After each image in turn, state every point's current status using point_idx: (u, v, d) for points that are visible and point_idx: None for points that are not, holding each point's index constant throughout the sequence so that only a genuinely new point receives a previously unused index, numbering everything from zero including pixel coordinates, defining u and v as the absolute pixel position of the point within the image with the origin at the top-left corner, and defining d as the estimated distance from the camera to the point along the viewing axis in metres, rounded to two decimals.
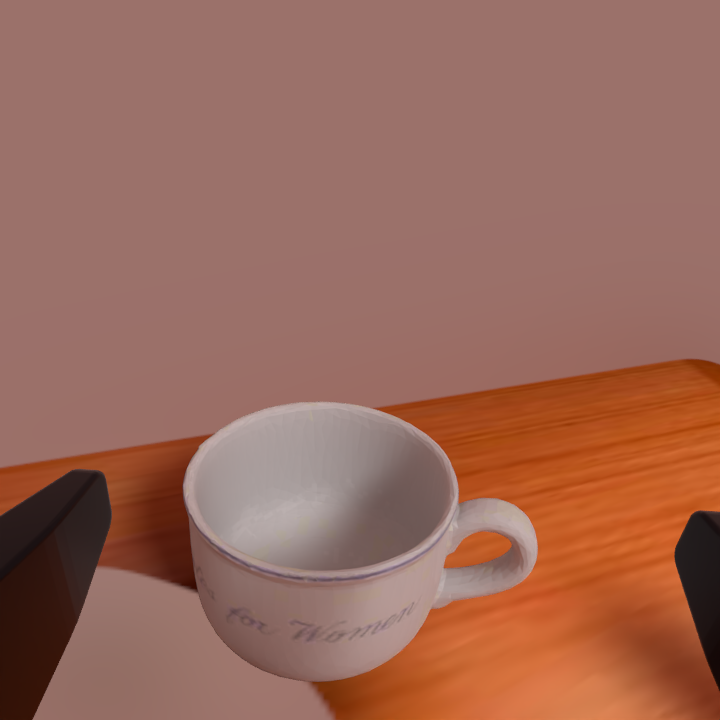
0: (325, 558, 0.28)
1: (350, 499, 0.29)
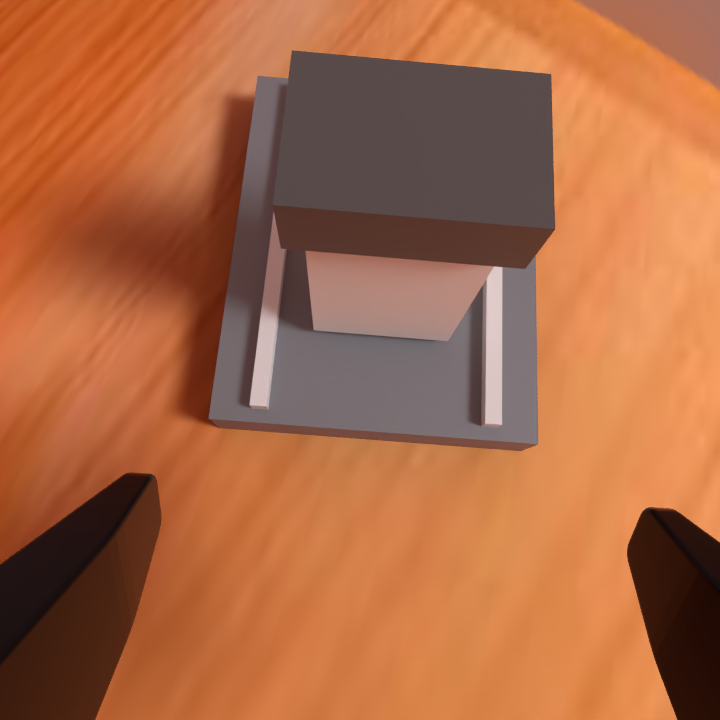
0: None
1: None
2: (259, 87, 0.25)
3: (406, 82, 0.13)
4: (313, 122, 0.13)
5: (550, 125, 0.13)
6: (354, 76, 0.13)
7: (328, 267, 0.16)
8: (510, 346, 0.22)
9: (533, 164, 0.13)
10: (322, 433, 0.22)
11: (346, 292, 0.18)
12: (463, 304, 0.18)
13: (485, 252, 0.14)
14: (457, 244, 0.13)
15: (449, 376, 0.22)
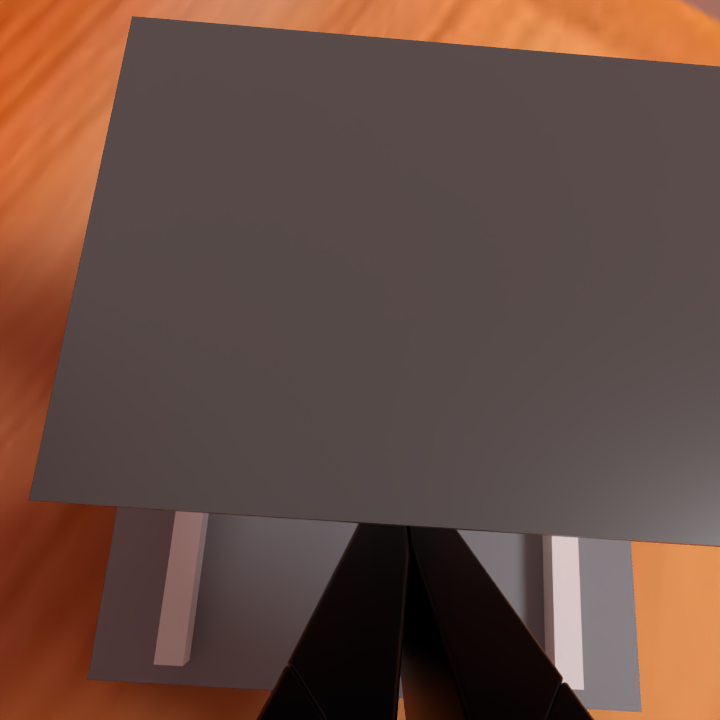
0: None
1: None
2: None
3: (441, 102, 0.05)
4: (177, 220, 0.04)
5: None
6: (300, 85, 0.05)
7: None
8: None
9: None
10: None
11: None
12: None
13: None
14: (582, 536, 0.05)
15: None
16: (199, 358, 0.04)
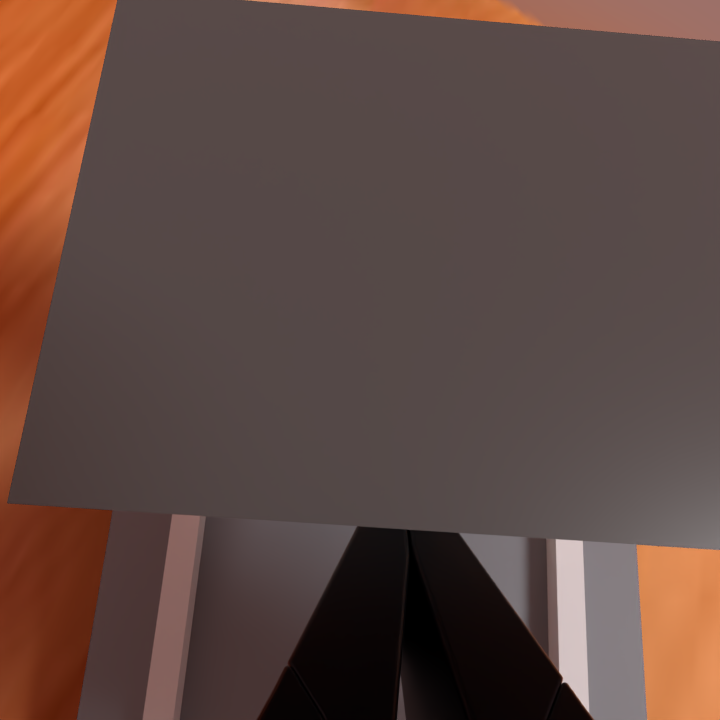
0: None
1: None
2: None
3: (449, 79, 0.05)
4: (167, 205, 0.04)
5: None
6: (297, 62, 0.05)
7: None
8: None
9: None
10: None
11: None
12: None
13: None
14: None
15: None
16: (190, 351, 0.04)
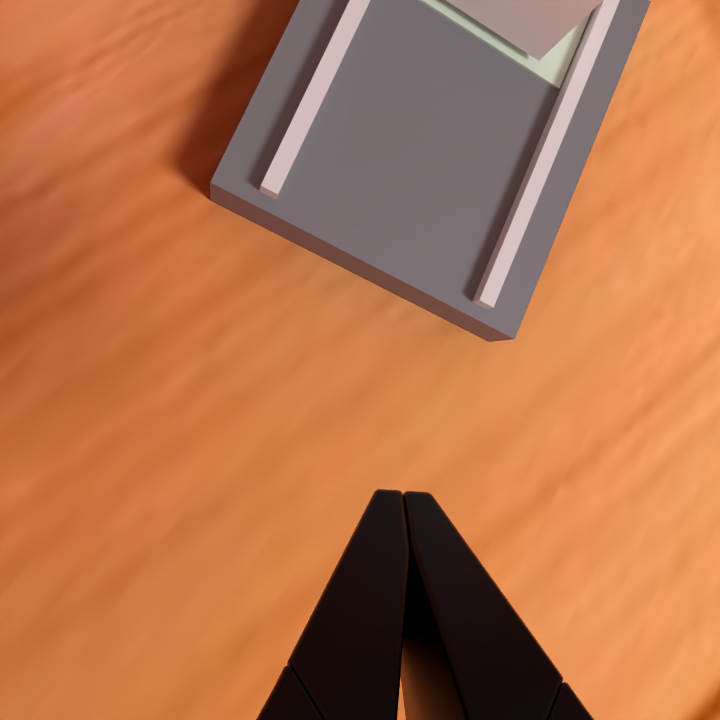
0: None
1: None
2: None
3: None
4: None
5: None
6: None
7: None
8: (527, 238, 0.22)
9: None
10: (315, 249, 0.21)
11: None
12: None
13: None
14: None
15: (462, 243, 0.21)
16: None
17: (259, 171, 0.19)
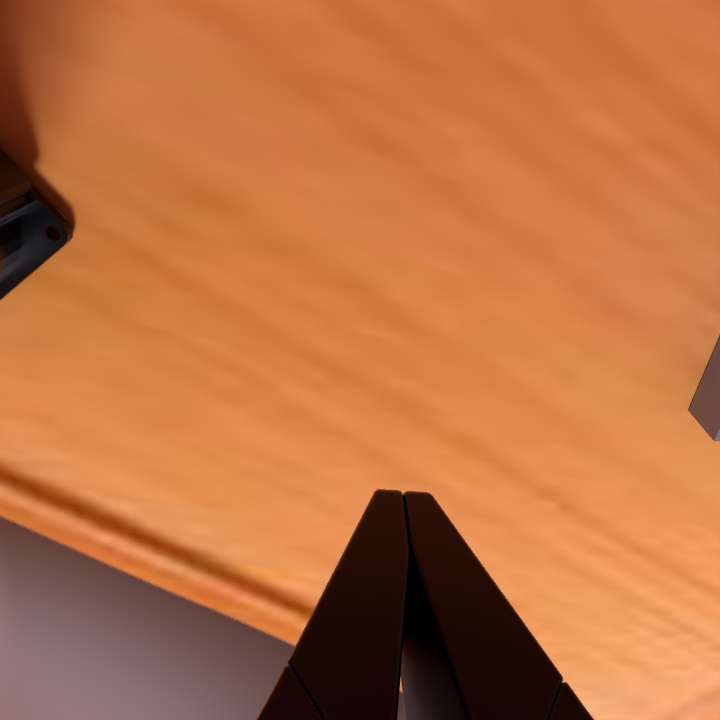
0: None
1: None
2: None
3: None
4: None
5: None
6: None
7: None
8: None
9: None
10: None
11: None
12: None
13: None
14: None
15: None
16: None
17: None
